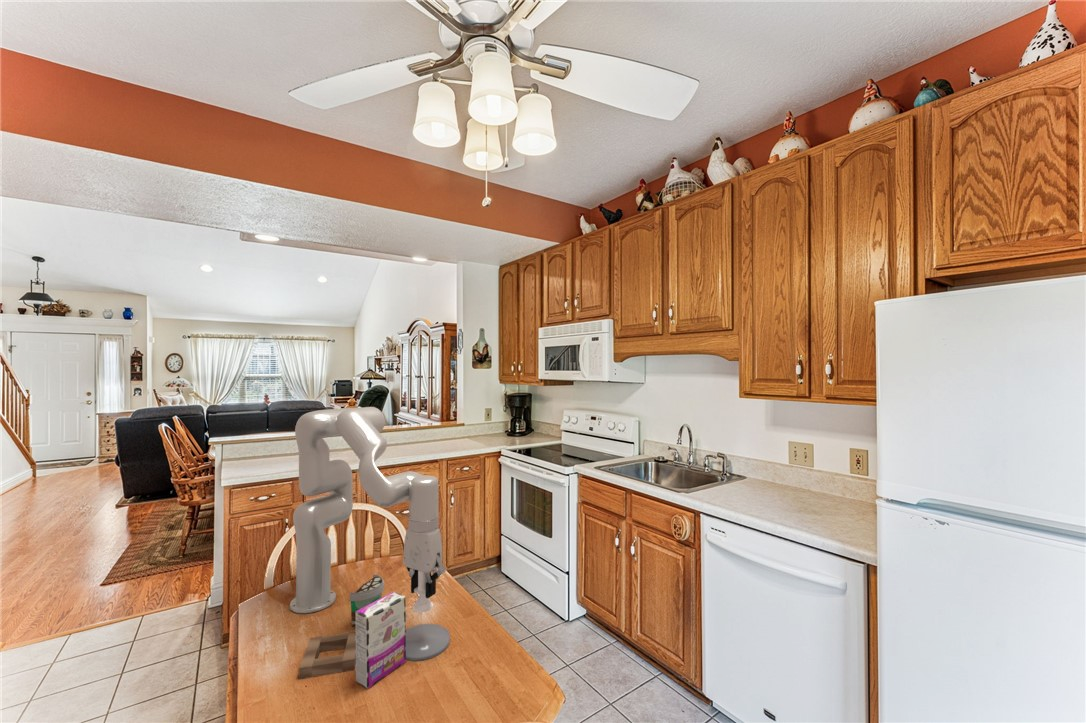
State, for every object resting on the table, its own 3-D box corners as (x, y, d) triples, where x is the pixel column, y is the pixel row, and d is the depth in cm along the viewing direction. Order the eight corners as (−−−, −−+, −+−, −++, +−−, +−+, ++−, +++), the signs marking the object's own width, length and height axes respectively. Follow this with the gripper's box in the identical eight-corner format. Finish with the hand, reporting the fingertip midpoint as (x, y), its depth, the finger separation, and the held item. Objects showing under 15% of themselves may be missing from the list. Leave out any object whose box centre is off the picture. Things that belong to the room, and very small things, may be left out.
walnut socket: (310, 647, 115) (310, 638, 115) (360, 640, 118) (360, 630, 119) (298, 679, 104) (299, 668, 104) (354, 669, 107) (354, 659, 107)
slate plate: (395, 632, 122) (395, 628, 122) (447, 624, 126) (447, 620, 126) (393, 665, 109) (393, 660, 109) (451, 655, 112) (451, 650, 112)
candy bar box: (392, 655, 112) (393, 590, 113) (406, 662, 110) (407, 595, 110) (353, 682, 103) (354, 610, 103) (367, 690, 100) (368, 617, 100)
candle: (409, 606, 118) (409, 560, 118) (428, 600, 121) (428, 555, 121) (416, 615, 114) (417, 568, 114) (436, 608, 117) (436, 562, 117)
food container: (368, 632, 122) (369, 595, 122) (348, 629, 123) (349, 593, 123) (392, 608, 134) (392, 575, 134) (374, 606, 135) (374, 573, 135)
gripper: (390, 522, 118) (389, 591, 118) (438, 534, 110) (437, 608, 110) (410, 514, 125) (410, 580, 125) (457, 525, 117) (457, 595, 117)
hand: (423, 592), depth 117 cm, fingers closed on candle, 4 cm apart
